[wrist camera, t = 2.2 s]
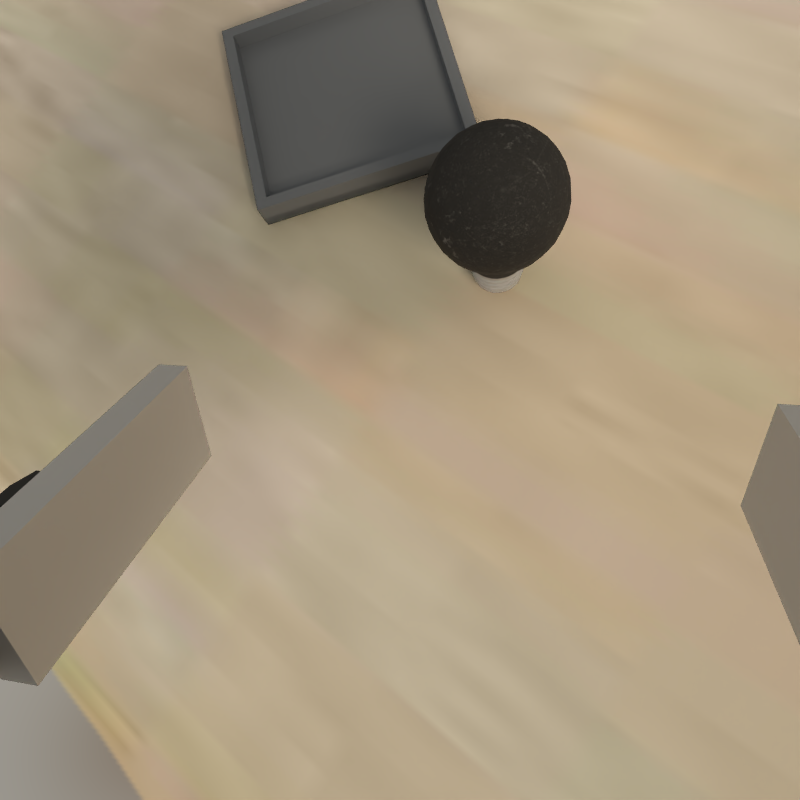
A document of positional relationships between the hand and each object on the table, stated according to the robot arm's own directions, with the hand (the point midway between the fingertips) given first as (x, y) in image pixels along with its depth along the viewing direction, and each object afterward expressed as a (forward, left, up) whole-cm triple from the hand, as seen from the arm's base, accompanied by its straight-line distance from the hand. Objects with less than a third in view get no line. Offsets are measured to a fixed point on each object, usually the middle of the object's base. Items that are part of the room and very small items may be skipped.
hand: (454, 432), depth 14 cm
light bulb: (-4, -10, -15) cm, 18 cm away
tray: (+1, -23, -14) cm, 27 cm away
